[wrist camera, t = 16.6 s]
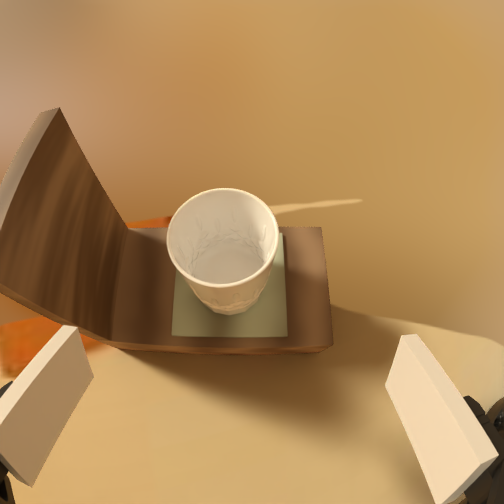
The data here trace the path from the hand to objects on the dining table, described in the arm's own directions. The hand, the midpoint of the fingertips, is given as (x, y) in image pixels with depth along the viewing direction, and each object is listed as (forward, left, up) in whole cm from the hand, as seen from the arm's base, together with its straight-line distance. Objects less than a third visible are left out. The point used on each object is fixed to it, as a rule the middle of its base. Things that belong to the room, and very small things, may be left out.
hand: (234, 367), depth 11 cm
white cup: (+1, -9, -17) cm, 19 cm away
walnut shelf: (+3, -10, -23) cm, 25 cm away
